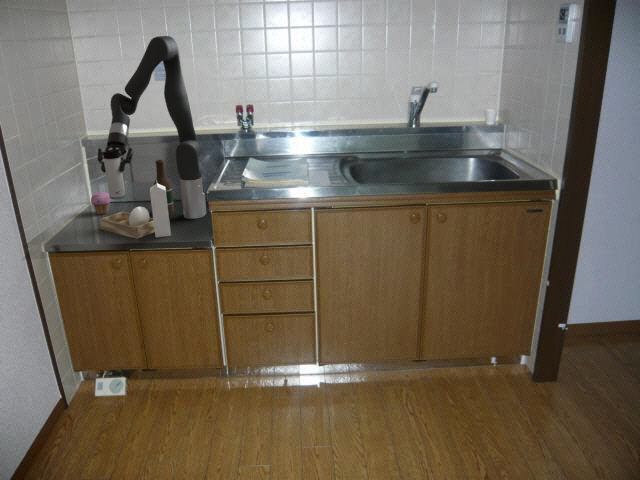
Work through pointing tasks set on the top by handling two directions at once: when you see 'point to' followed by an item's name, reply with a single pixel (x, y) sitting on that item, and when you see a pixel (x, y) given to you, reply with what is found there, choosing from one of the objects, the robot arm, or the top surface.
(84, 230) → the top surface
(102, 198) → the cupcake
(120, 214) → the wooden compartment box
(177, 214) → the top surface
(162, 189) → the milk
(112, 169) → the travel mug
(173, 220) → the top surface
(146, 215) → the saucer
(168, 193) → the beer bottle
